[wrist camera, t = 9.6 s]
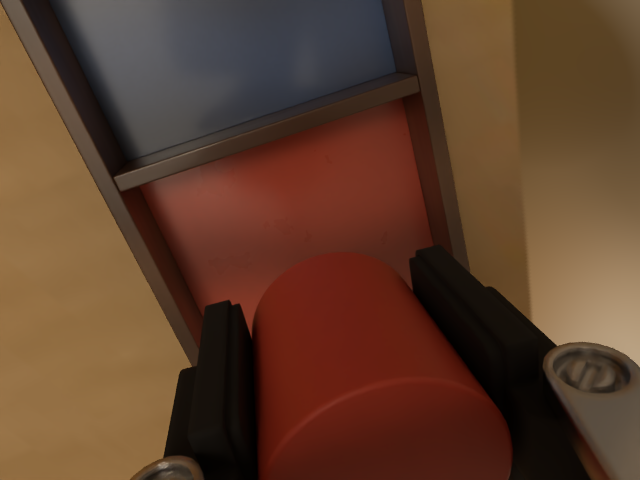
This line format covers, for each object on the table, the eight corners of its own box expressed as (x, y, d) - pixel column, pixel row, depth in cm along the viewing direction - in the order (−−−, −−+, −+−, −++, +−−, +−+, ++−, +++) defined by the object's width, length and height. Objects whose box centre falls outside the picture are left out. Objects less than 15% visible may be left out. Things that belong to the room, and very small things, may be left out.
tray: (-81, -236, 13) (-168, -315, 10) (317, -356, 14) (338, -462, 11) (233, 398, 24) (233, 445, 21) (456, 319, 24) (485, 355, 21)
